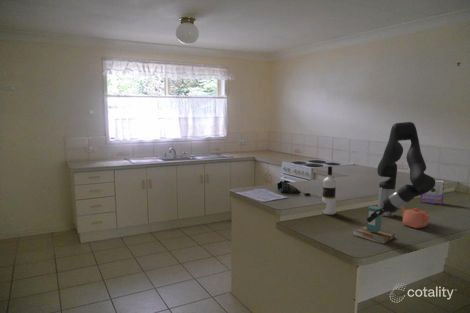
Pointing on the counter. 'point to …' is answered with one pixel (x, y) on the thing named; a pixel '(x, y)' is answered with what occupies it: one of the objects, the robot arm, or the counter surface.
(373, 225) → the tea box
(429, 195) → the candy box
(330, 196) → the vodka
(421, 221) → the teapot
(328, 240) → the counter surface
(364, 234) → the shelf
